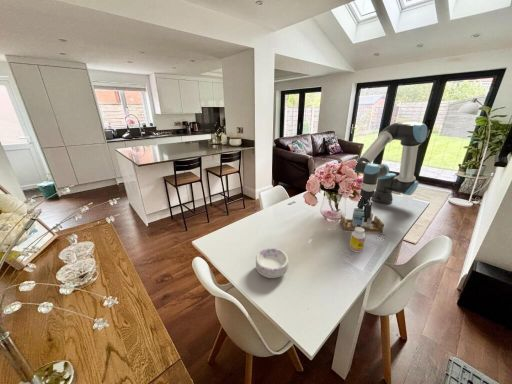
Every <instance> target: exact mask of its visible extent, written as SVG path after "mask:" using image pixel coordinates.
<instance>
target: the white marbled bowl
mask: <svg viewBox="0 0 512 384" xmlns="http://www.w3.org/2000/svg"><path fill="white" fill-rule="evenodd" d="M288 268H289V257H288V254H287V253H286V252H284V251H283V250H281V249H279V248H276V247H275V248H274V247H273V248H272V247H268V248H264V249H262V250H260V251H259V252H258V253H257V254H256V256H255V269H256V271H257V272H258V273H259V274H260V275H262V276H263V277H266V278H267V279H276V278H280V277H283V276H284V275H285V274H286V273H287V272H288V270H289V269H288Z"/></svg>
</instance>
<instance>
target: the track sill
mask: <svg viewBox="0 0 512 384" xmlns="http://www.w3.org/2000/svg"><path fill="white" fill-rule="evenodd" d="M339 220H340V221H339V223H340V224H341V226H342V229H343V230H344V232H353V231H355V227H352V218H346V216H345V215H344V214H342V213H341V214H340V219H339ZM384 228H385V224H384V222H382V220H381V219H380V217H378V216H377V215H374V216H373V219H372V222H371V227H370V228H363V229H364V230H365V231H364V233H372V234H373V233H374V234H383V231H384Z"/></svg>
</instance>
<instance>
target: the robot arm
mask: <svg viewBox="0 0 512 384" xmlns="http://www.w3.org/2000/svg"><path fill="white" fill-rule="evenodd" d="M427 136H428V126H427V125H426V124H425V123H420V122H403V121H401V122H400V121H397V122H394V123H392V124H390V125H388V126H386V127H385V128H383V129H382V130H381V131H380V132H379V133H378V135H377V138H376V139H375V140H374V141H373V143H371V144H370V146H369V147H368V148H367V149H366V150H365V152H363V154H362V155H361V156H360V157H359V158H358V160H357V159H356V161H357V162H358V163H357V165H356V167H355V168H354V170H355V171H356V172H355V173H358V172H359V174H363V177H362V180H361V181H362V183H361V184H360V186H361V187H360V188H361V189H360V192H359V196H360V195H361V196H362V197H361V199H360V201H359V200H358V202H357V208H359V209H364V216H363V220H362V225H361V226H367V221H368V218H370V216H371V210H372V205H373V201H374V202H376V203H379V204H383V205H384V204H386V205H387V204H388V205H389V204H392V203H393V199H394V197H393V192H396V193H397V194H398V193H399V194H402V195H406V196H411V195H413V194H414V193H415V192H416V190H417V189H418V186H419V181H418V180H417V179H416V178H417V177H416V176H415V171H416V163H417V156H418V151H419V146H420V145H421V144H422V143H423V142H425V141H426V139H427ZM392 141H400V145H401V146H402V150H401V159H400V168H399V174H398V175H397V173H393V172H390V167H389V166H388V165H387V164H385V163H380V164H378V163H373V162H374V160H375V159H376V158H377V156H378V155H379V154H380V153H381V152H382V151H383V150H384V149H385V147H387V145H388V144H389V143H391V142H392ZM371 200H372V201H371Z"/></svg>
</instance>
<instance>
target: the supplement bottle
mask: <svg viewBox="0 0 512 384" xmlns="http://www.w3.org/2000/svg"><path fill="white" fill-rule="evenodd" d="M364 231H365V230H364V229H363V228H361V227H355V231H351V232H352V233H351V236H350V239H349V241H350V242H349V250H350V251H352V252H354V253H362V252H363V249H364V244H365V240H366V234H365V232H364Z"/></svg>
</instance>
